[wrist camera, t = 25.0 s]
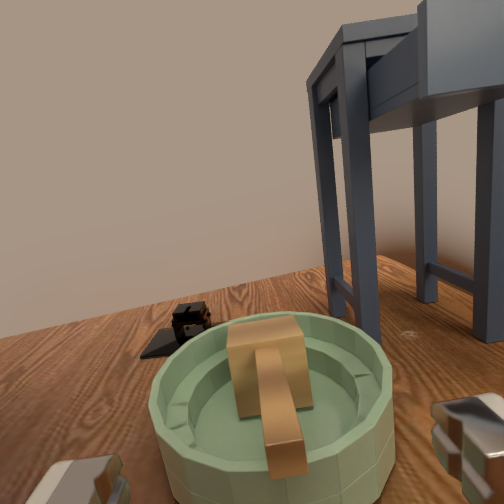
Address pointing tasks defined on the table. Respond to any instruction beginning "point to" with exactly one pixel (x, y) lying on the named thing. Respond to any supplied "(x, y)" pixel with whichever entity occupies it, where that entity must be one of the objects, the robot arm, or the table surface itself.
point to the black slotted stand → (180, 330)
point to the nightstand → (424, 145)
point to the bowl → (250, 428)
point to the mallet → (272, 387)
